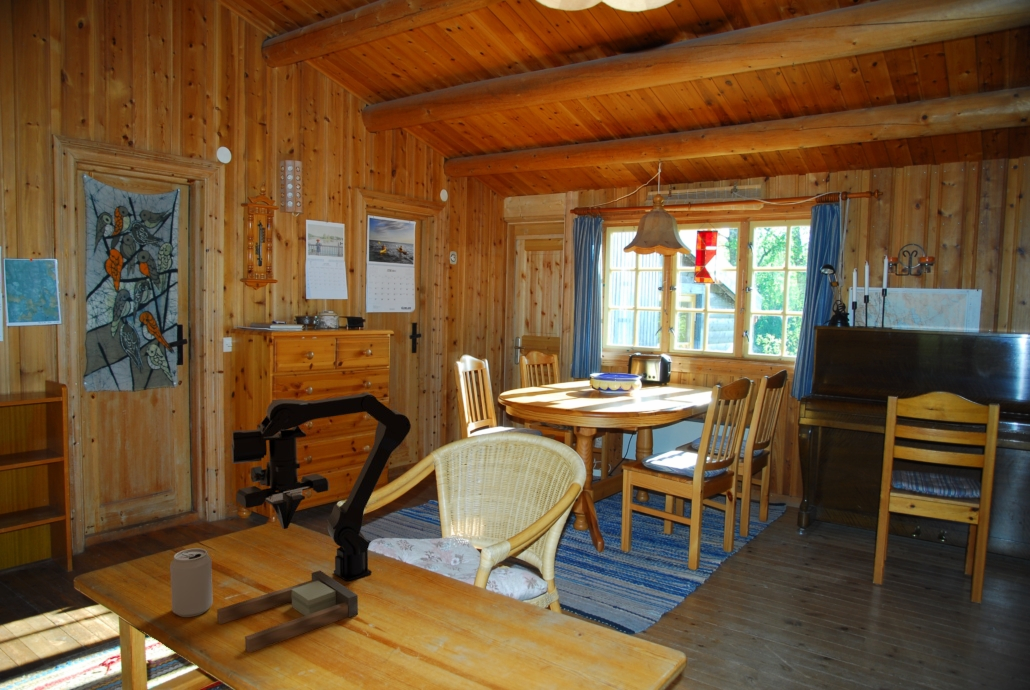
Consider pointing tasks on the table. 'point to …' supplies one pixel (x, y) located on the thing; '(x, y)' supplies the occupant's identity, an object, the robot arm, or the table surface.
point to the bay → (341, 610)
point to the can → (191, 582)
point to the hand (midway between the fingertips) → (284, 528)
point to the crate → (313, 598)
